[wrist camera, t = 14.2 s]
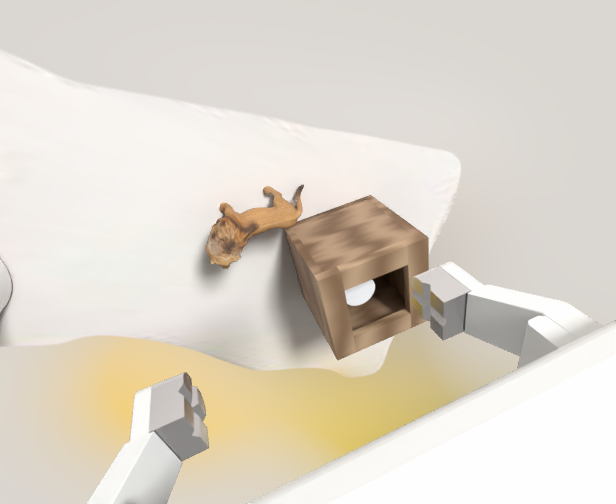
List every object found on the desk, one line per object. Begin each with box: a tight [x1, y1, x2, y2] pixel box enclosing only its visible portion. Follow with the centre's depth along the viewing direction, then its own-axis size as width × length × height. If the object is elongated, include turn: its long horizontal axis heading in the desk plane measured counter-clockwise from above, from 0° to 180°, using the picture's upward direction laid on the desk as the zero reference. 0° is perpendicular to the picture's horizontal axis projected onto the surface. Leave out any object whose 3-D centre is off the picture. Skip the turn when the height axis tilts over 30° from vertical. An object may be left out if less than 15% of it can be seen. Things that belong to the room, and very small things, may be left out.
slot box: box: [284, 195, 429, 360], centre depth 48 cm, size 14×14×14 cm
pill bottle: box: [345, 280, 375, 306], centre depth 48 cm, size 6×6×10 cm
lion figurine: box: [206, 185, 304, 269], centre depth 42 cm, size 15×5×9 cm, turn 111°
